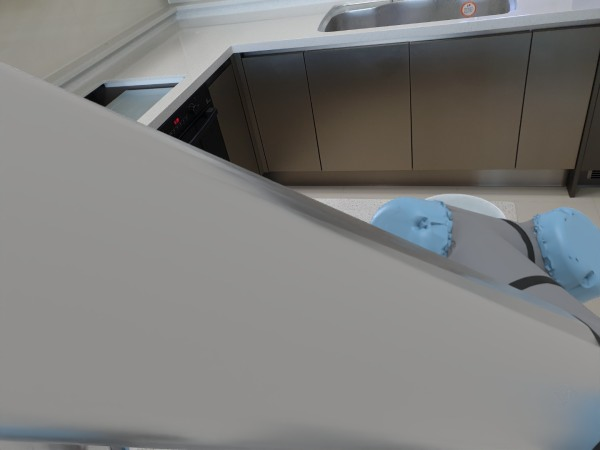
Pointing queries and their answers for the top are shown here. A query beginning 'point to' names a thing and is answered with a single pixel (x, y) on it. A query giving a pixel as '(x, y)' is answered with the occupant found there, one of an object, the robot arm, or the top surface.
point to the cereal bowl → (470, 204)
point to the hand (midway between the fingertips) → (324, 349)
